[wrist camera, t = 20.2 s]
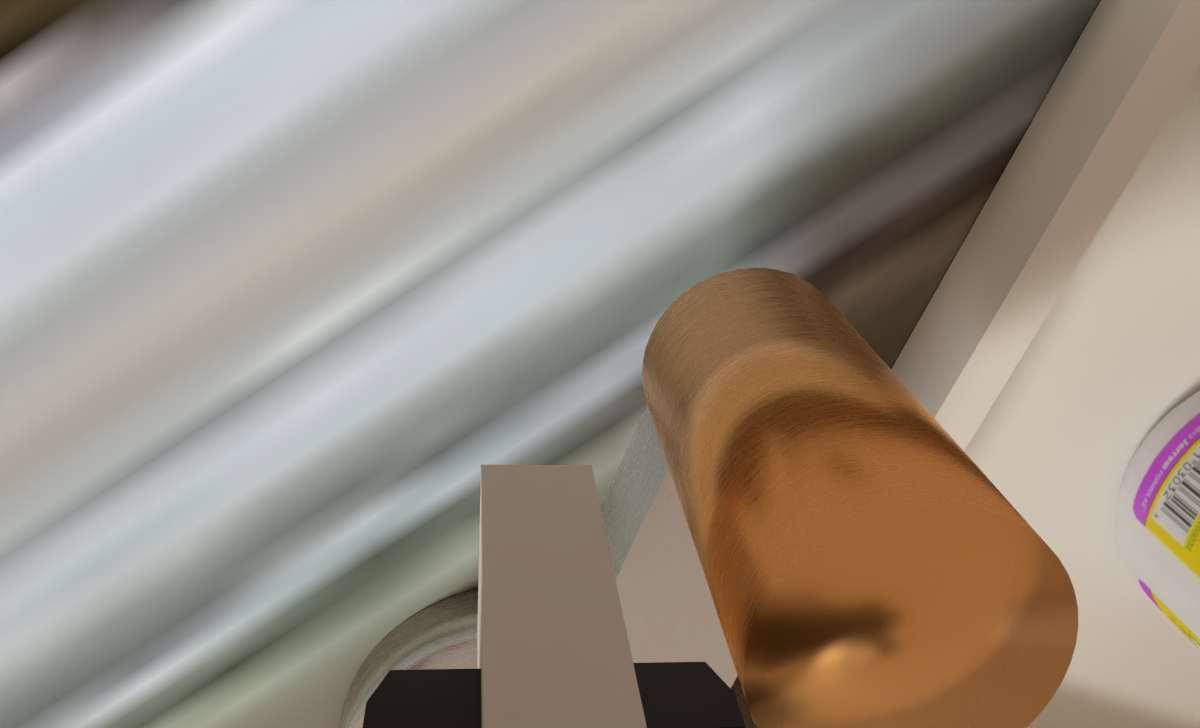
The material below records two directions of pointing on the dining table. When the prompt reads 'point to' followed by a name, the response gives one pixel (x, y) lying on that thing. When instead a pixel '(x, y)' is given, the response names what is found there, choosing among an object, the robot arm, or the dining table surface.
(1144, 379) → the tray
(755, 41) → the dining table surface
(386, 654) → the crank base
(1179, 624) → the supplement bottle
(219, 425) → the dining table surface
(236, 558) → the dining table surface
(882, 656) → the crank lever
